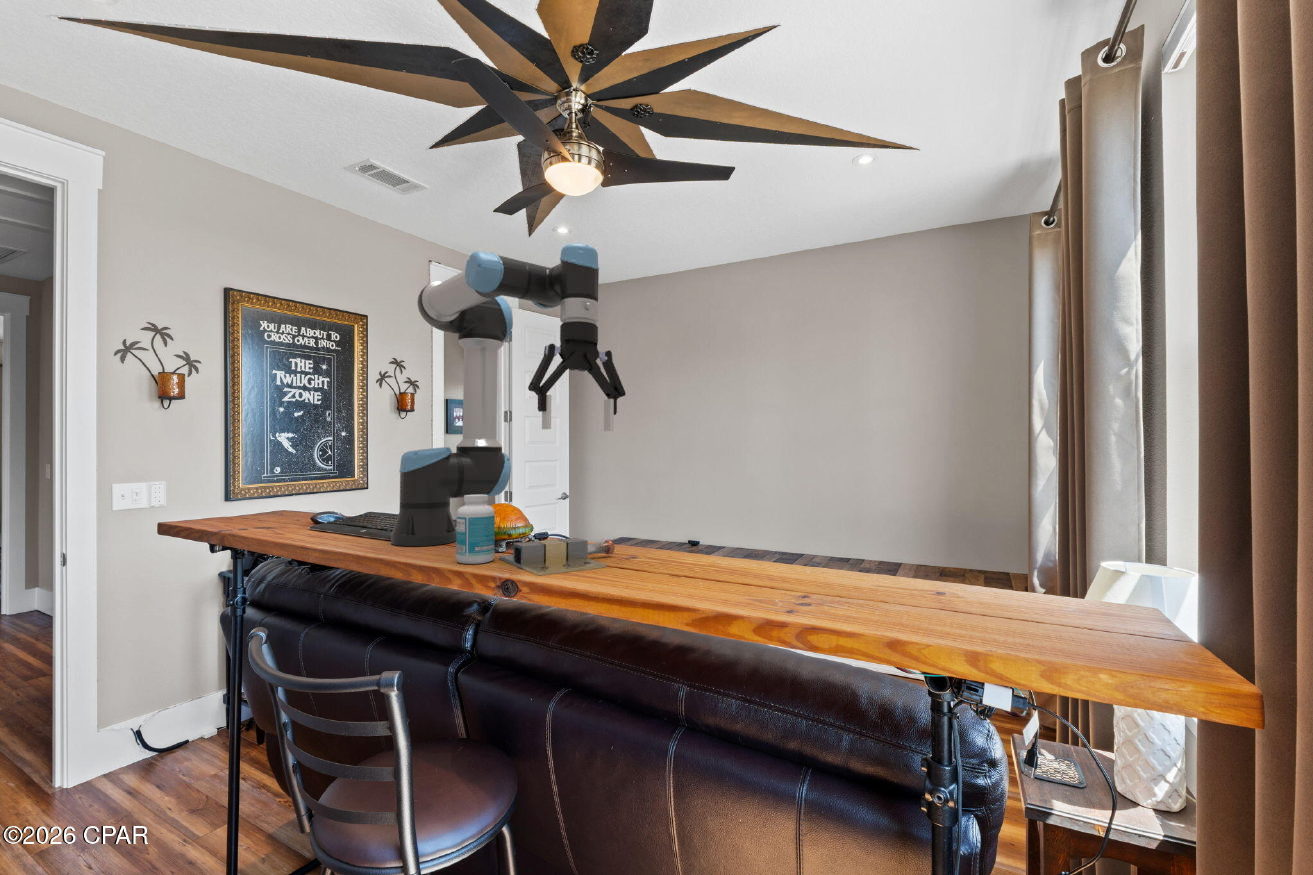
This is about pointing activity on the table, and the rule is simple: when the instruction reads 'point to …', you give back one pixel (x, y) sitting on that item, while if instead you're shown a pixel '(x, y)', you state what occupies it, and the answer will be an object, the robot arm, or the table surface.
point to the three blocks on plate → (552, 556)
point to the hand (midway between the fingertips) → (578, 430)
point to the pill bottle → (475, 531)
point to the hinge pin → (601, 547)
